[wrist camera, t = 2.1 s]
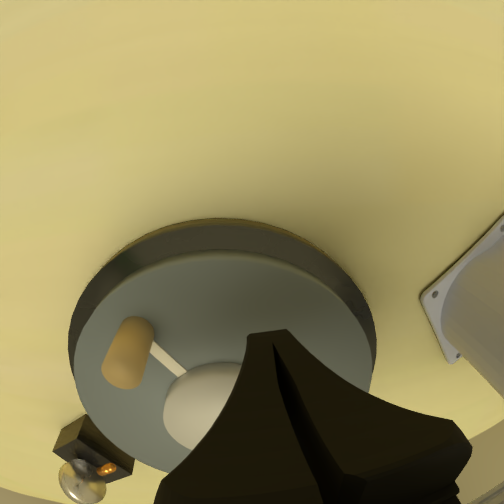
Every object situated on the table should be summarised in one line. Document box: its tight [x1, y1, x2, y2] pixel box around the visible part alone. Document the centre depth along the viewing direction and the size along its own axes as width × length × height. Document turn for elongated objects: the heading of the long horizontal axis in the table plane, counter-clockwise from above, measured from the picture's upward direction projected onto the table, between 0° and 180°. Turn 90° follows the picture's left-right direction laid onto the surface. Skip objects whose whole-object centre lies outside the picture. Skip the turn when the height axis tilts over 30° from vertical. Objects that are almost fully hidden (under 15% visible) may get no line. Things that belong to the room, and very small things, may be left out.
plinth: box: [68, 218, 377, 380], centre depth 18 cm, size 18×18×2 cm
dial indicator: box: [52, 414, 135, 504], centre depth 17 cm, size 6×5×6 cm
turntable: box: [74, 249, 372, 473], centre depth 15 cm, size 16×16×4 cm
